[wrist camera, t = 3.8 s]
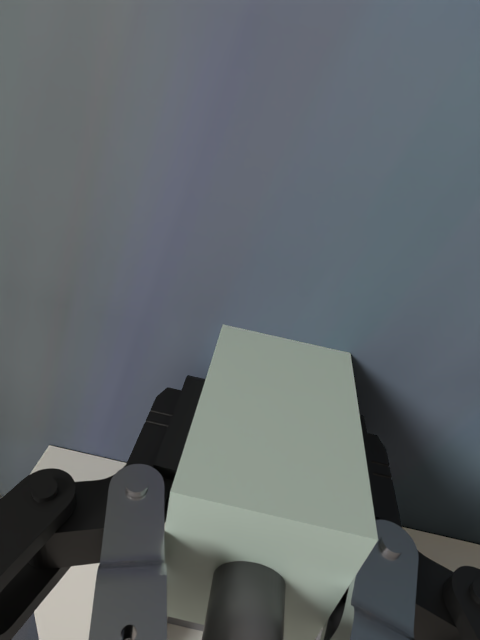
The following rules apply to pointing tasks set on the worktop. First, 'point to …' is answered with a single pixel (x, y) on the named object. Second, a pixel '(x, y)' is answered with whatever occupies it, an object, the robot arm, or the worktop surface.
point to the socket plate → (79, 581)
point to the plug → (269, 492)
